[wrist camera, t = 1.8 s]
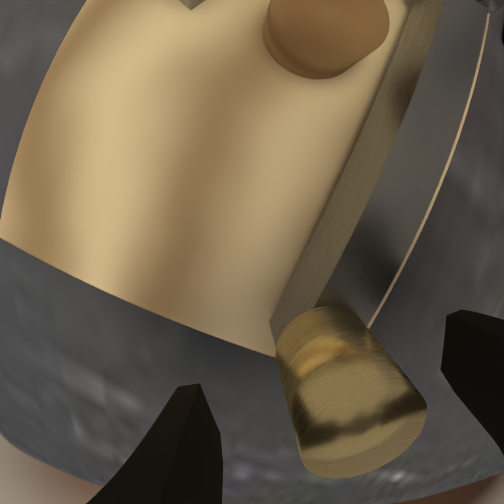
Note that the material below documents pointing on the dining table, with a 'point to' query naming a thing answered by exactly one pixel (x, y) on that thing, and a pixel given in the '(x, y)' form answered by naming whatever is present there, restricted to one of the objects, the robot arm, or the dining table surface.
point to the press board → (188, 159)
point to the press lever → (374, 251)
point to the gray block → (191, 3)
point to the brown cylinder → (324, 34)
